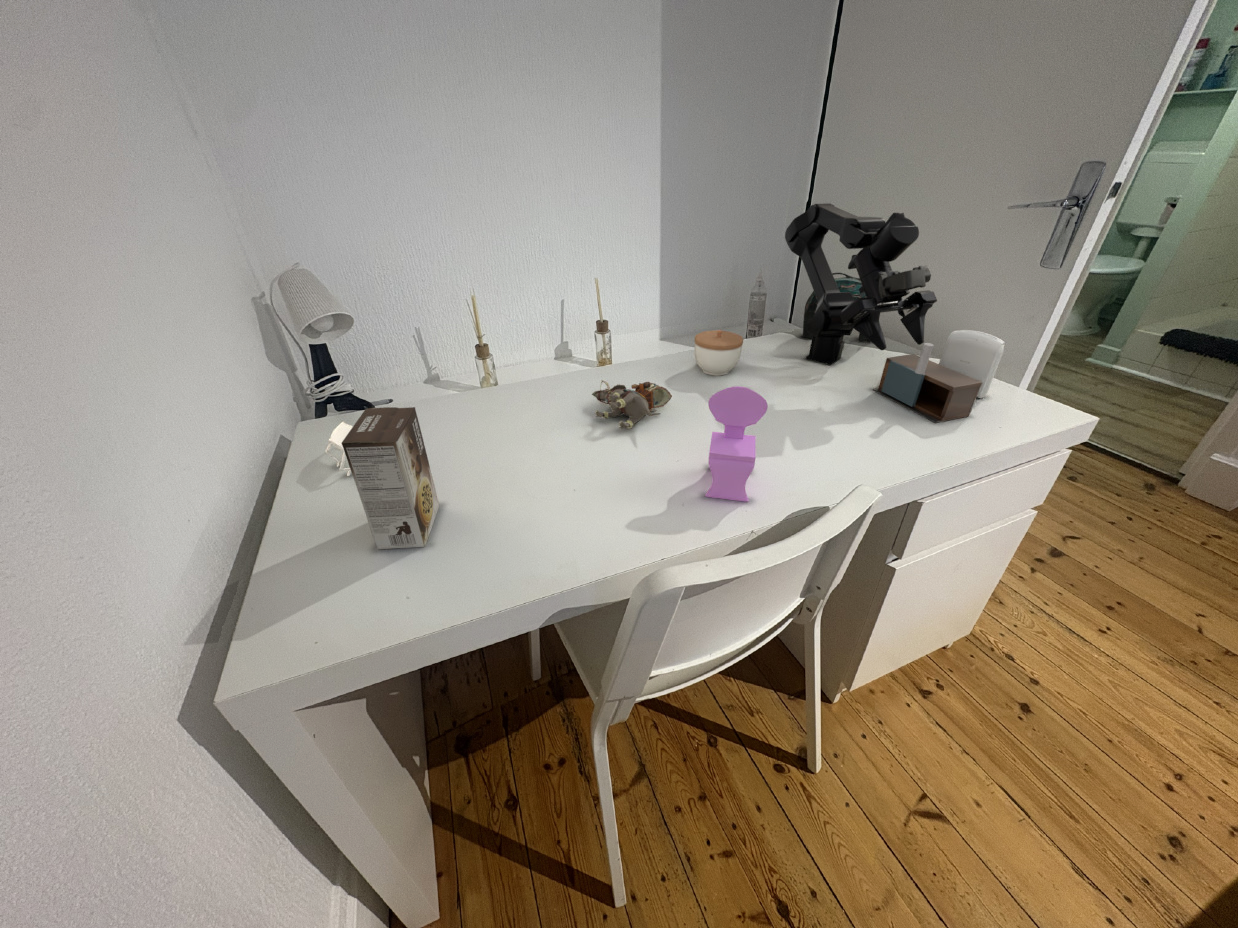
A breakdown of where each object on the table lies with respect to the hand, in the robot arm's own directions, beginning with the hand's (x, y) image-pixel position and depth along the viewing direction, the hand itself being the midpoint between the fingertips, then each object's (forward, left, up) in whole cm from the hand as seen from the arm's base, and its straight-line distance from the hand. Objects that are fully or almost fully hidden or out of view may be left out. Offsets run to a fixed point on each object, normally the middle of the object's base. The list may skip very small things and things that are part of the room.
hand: (902, 346), depth 99 cm
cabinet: (+6, +1, -11) cm, 12 cm away
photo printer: (+10, +13, -11) cm, 20 cm away
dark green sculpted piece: (-21, +30, -11) cm, 38 cm away
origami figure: (-61, -82, -11) cm, 103 cm away
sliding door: (+2, -1, -10) cm, 10 cm away
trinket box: (-35, -10, -11) cm, 38 cm away
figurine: (-36, -38, -11) cm, 53 cm away
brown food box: (-37, -86, -11) cm, 94 cm away
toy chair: (-9, -49, -11) cm, 51 cm away
